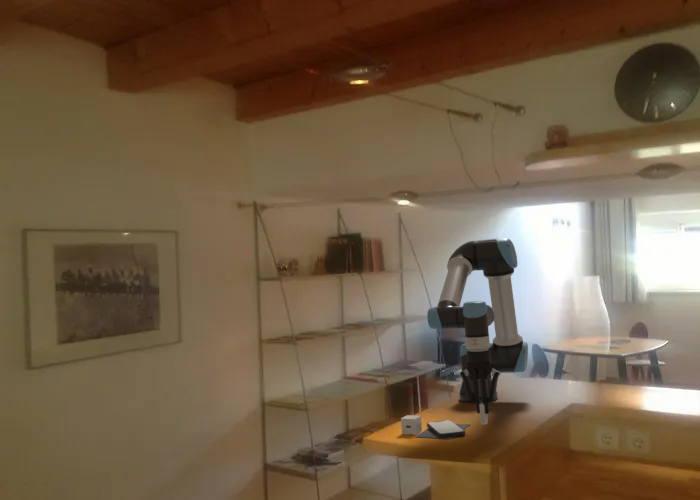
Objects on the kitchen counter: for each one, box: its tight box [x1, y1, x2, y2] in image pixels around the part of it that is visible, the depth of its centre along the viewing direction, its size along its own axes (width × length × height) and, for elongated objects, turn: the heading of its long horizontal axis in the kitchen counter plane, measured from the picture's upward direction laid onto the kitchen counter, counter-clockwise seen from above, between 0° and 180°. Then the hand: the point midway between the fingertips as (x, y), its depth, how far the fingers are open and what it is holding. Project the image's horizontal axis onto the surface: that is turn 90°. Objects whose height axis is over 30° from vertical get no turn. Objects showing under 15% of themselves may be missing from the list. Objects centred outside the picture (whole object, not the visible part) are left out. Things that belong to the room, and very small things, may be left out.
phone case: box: [426, 419, 466, 438], centre depth 207 cm, size 9×2×16 cm
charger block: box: [400, 414, 423, 436], centre depth 210 cm, size 5×5×5 cm
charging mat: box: [415, 423, 471, 440], centre depth 209 cm, size 19×12×1 cm, turn 152°
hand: (484, 423), depth 203 cm, fingers closed
